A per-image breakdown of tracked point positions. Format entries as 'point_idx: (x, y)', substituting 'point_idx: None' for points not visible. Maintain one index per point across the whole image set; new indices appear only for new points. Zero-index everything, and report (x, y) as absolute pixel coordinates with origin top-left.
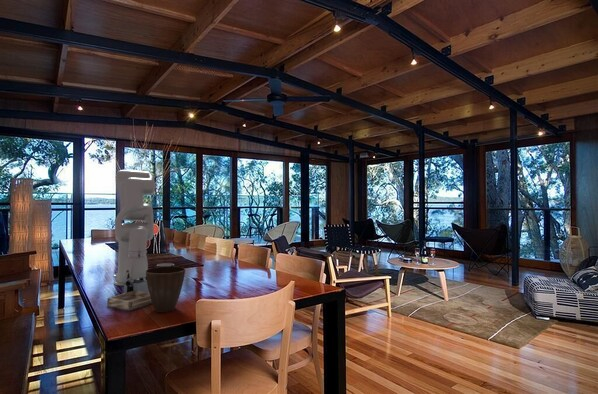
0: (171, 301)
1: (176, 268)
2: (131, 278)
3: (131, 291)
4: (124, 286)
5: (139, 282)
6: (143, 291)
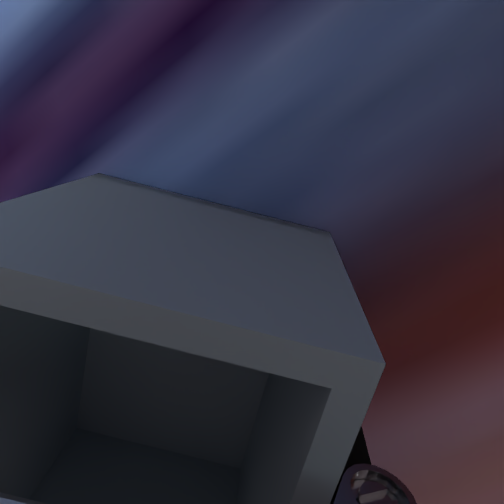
0: None
1: None
2: None
3: None
4: (1, 207)
5: (276, 487)
6: (164, 499)
